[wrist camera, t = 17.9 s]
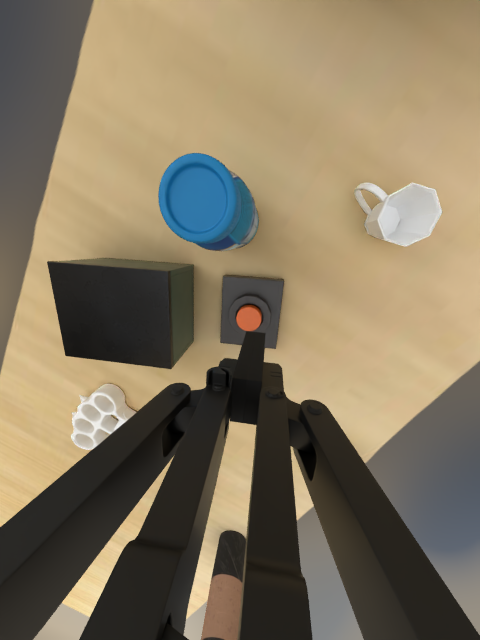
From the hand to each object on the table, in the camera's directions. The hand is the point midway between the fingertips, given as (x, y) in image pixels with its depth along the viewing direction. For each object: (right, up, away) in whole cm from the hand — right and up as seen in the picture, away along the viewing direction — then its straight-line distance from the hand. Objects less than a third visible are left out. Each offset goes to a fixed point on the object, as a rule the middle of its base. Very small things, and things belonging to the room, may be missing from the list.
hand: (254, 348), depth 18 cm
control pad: (+1, +4, +24) cm, 24 cm away
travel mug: (-3, -56, +44) cm, 71 cm away
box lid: (-20, +3, +16) cm, 26 cm away
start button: (0, +3, +20) cm, 20 cm away
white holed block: (-32, -20, +36) cm, 52 cm away
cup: (+19, +18, +17) cm, 31 cm away
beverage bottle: (-2, +18, +20) cm, 27 cm away
